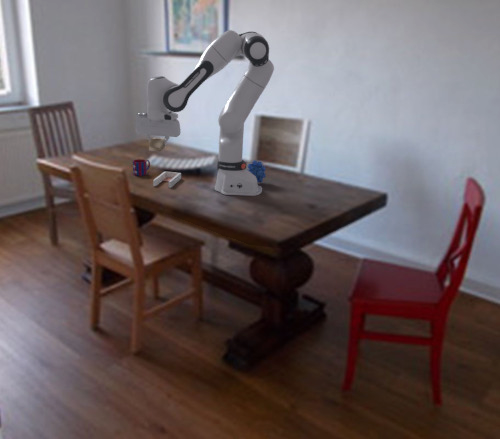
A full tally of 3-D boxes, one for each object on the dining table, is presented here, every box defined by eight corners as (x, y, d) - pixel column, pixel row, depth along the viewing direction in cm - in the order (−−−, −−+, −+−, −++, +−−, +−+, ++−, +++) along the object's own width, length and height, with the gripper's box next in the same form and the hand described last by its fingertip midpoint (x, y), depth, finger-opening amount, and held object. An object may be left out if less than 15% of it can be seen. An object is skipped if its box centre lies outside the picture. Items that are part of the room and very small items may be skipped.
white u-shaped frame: (181, 178, 275) (181, 173, 274) (170, 187, 260) (170, 181, 259) (164, 177, 276) (164, 171, 275) (153, 186, 261) (153, 180, 260)
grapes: (251, 187, 265) (252, 163, 261) (243, 184, 270) (244, 160, 266) (270, 184, 272) (271, 160, 268) (261, 181, 277) (263, 157, 273)
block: (165, 147, 251) (164, 138, 250) (159, 151, 245) (159, 141, 243) (154, 147, 252) (154, 137, 251) (149, 150, 246) (148, 140, 244)
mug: (130, 173, 280) (130, 160, 277) (146, 170, 286) (146, 157, 284) (138, 176, 275) (137, 163, 273) (154, 173, 282) (154, 160, 280)
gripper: (132, 113, 243) (133, 144, 248) (177, 117, 240) (177, 148, 244) (137, 111, 249) (138, 141, 254) (181, 114, 245) (181, 145, 250)
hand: (158, 145), depth 249 cm, fingers closed on block, 5 cm apart
